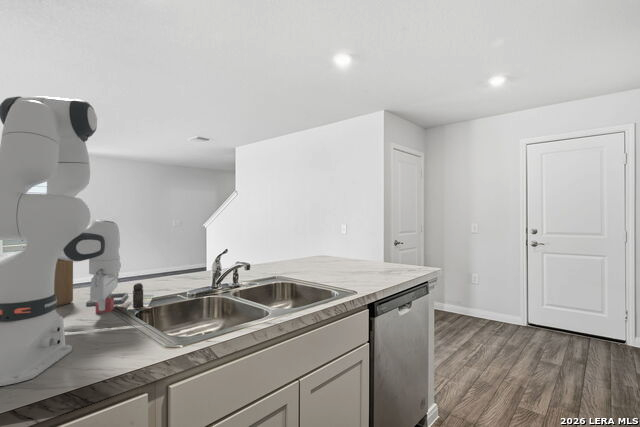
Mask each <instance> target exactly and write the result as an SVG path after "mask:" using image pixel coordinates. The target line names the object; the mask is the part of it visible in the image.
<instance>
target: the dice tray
mask: <svg viewBox="0 0 640 427" xmlns="http://www.w3.org/2000/svg"><path fill="white" fill-rule="evenodd" d="M127 297H129V293H128V292H122V293H119V292H118V293H112V295H111V298H120V299H114V305H116V304H123V302H124V301H125V300H126V299H127ZM85 306H86V307H92V306H93V307H94V306H96V301H91V299H90V298H89V300H88V301H86V302H85Z"/></svg>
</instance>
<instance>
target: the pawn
mask: <svg viewBox="0 0 640 427" xmlns="http://www.w3.org/2000/svg"><path fill="white" fill-rule="evenodd" d="M143 288H144V286H143V284H142V283H140V282H137V283H135V284H134V285H133V289H132V301H133V308H139V309H142V308H141V307H143V295H144V289H143Z"/></svg>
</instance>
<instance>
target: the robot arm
mask: <svg viewBox="0 0 640 427" xmlns="http://www.w3.org/2000/svg"><path fill="white" fill-rule="evenodd" d="M0 121H1V123H2V125H3V127H2V132H1V138H0V241H9V240H11V241H12V240H14V241H17V240H19V241H20V240H24V241H26V246H25V248H24V249H23V250H22V251H20V252H17V253H15V254H12V255H10V256H8V257H6V258H4V259H2V260H0V387H2V386H9V385H12V384H17V383H22V382H25V381H27V380H31V379H34V378H36V377H37V376H38V375H40V374H41V373H43V372H44V371H45V370H47V369H48V368H49V367H51V366H52V365H54V364H55V363H57V362H58V361H60V359H63V357H65V356H66V355H68V354H70V353H71V352H72V351H73V346H72V345H70V344H66V333H65V321H64V317H63V316H62V315H60V314H59V313H58V312H57V311H56V308H57V298H56V294H55V293H54V279H55V269H56V263H57V261H60V260H66V261H73V262H76V263H77V262H82V261H83V262H84V261H87V260H88V270H89V272H88V274H89V275H93V277H92V278H91V280H90V288H89V289H90V291H89V300H90V299H91V301H93V302H96V301H97V302H98V305H99V311H104V310H105V309H106V304H105V300H106V298H112V297H111V295H112V294H113V293H112V292H114V291H115V289H117V287H118V283H119V273H120V271H121V268H122V267H121V266H122V264H121V257H120V252H119V250H120V246H121V242H120V241H121V237H120V235H121V234H120V228H119V225H118V224H117V223H116V222H114V221H111V220H105V219H104V220H102V219H94V220H92V221H91V211H90V208H89V206H88V205H87V203H86V202H85V201H84V200H83V199H81V198H80V197H76V196H77V195H78V194H79V193H80V192H82V191H83V190H85V189H86V188H87V187H88V185H89V183H90V178H91V165H90V157H89V152H88V147H87V144H86V142H87V141H88V140H89V138H90V137H92V136H93V135H94V134H95V132H96V131H97V127H98V118H97V114H96V112H95V109H94V107H93V106H92V105H91V104H90V103H89V102H87V101H85V100H81V99H77V98H76V99H75V98H73V99H69V98H60V97H49V96H25V97H23V96H19V95H18V96H11V97H7V98H5V99H4V100H3V101H2V102H1V103H0ZM44 183H46V193H28V192H29V191H30V190H31V189H32V188H34V187H35V186H38V185H40V184H44Z"/></svg>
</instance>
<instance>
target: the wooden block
mask: <svg viewBox="0 0 640 427" xmlns="http://www.w3.org/2000/svg"><path fill="white" fill-rule="evenodd" d="M54 293H55V294H56V298H57V307H61V306H64V305H68V304H71V303H72V302H73V301H74V261H66V260H60V261H57V263H56V269H55V279H54ZM57 307H56V308H57Z"/></svg>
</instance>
